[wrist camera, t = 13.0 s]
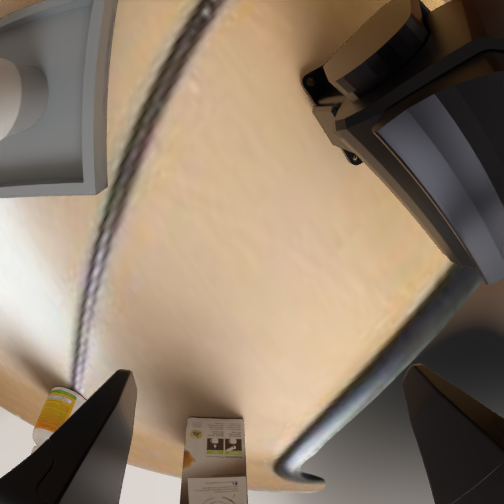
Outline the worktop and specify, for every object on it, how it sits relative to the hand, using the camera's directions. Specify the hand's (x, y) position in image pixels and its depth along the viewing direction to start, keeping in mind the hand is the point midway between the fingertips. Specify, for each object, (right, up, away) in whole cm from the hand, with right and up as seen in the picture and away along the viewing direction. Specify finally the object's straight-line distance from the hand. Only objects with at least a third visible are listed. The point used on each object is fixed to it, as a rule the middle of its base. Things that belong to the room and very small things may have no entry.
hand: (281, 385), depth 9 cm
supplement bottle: (-22, -13, +20) cm, 33 cm away
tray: (-17, +15, +6) cm, 23 cm away
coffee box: (-5, -18, +23) cm, 29 cm away
